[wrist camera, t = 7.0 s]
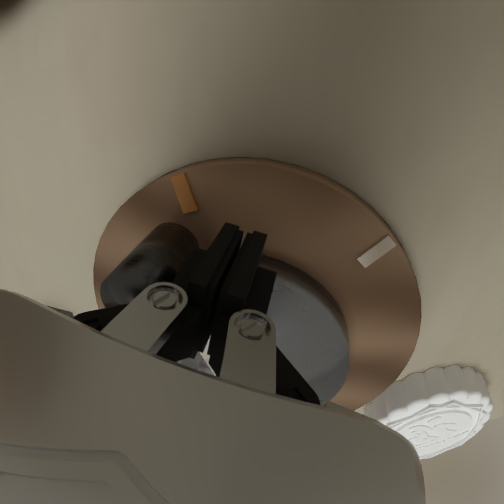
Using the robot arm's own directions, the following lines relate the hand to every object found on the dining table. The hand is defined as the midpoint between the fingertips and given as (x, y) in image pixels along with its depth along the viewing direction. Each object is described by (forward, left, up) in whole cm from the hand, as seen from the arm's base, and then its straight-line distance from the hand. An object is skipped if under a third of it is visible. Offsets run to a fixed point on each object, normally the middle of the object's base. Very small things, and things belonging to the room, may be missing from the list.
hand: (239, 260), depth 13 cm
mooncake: (+13, +19, -6) cm, 23 cm away
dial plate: (+8, +1, -5) cm, 10 cm away
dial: (+7, 0, -4) cm, 8 cm away
